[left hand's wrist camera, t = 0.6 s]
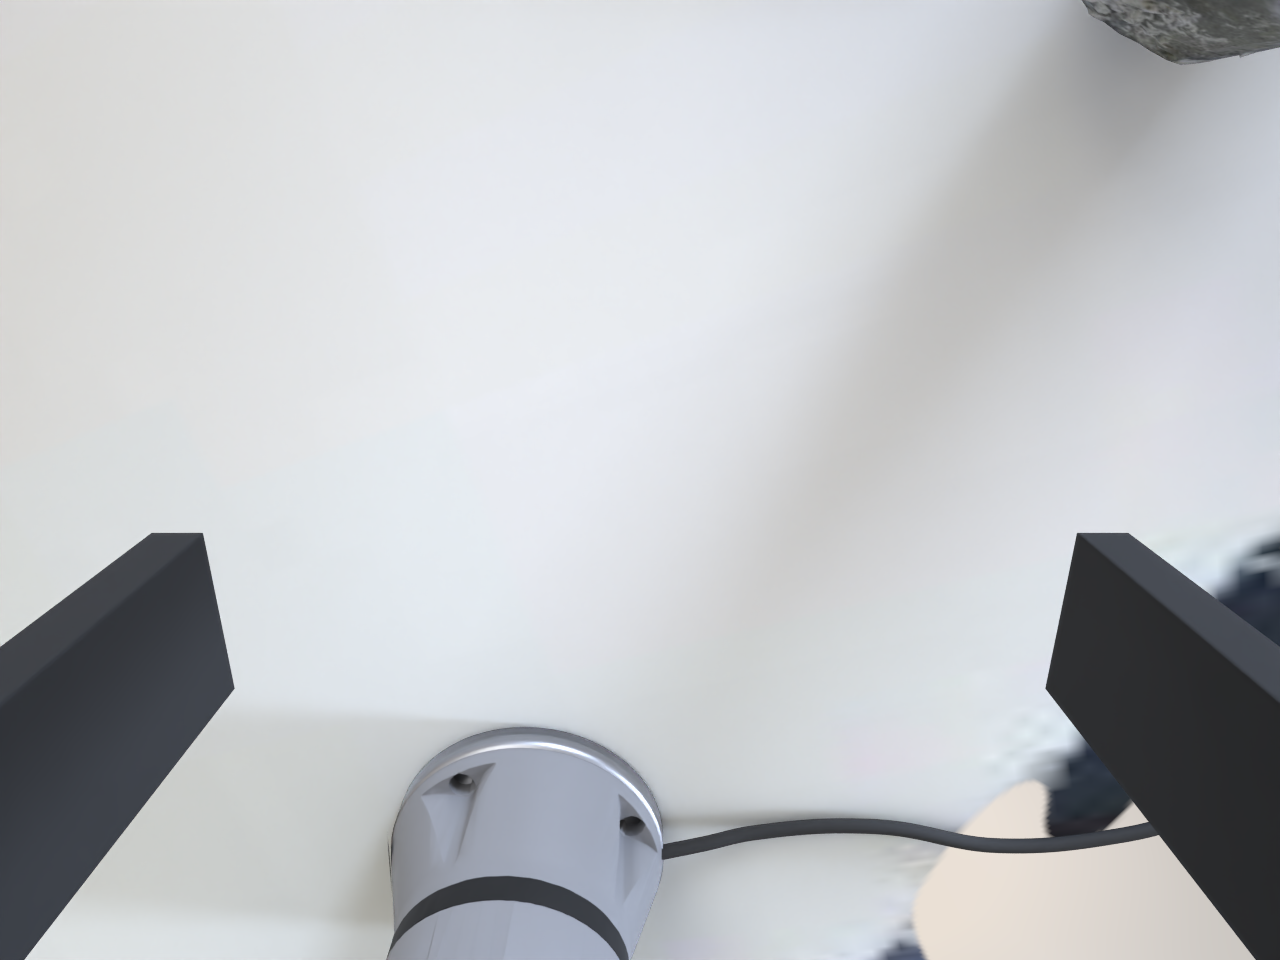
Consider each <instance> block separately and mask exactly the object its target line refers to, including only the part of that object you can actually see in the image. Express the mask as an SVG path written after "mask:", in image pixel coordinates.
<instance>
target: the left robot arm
mask: <svg viewBox="0 0 1280 960" xmlns="http://www.w3.org/2000/svg"><path fill="white" fill-rule="evenodd" d="M234 689H235V688H234V684H233V679H232V674H231V669H230V664H229V659H228V654H227V649H226V644H225V639H224V635H223V630H222V625H221V620H220V615H219V610H218V605H217V600H216V595H215V590H214V585H213V581H212V576H211V571H210V566H209V561H208V556H207V551H206V546H205V541H204V536H203V533H151V534H150V535H149V536H147V537H146V538H145V539H143V540H142V541H141V542H139V543H138V544H137V545H135V546H134V547H133V548H131V549H130V550H129V551H127V552H126V553H125V554H123V555H122V556H121V557H119V558H118V559H117V560H115V561H114V562H113V563H111V564H110V565H109V566H107V567H106V568H105V569H103V570H102V571H101V572H99V573H98V574H97V575H95V576H94V577H93V578H91V579H90V580H89V581H87V582H86V583H85V584H83V585H82V586H81V587H79V588H78V589H77V590H75V591H74V592H73V593H71V594H70V595H69V596H67V597H66V598H65V599H63V600H62V601H61V602H59V603H58V604H57V605H55V606H54V607H53V608H52V609H50V610H49V611H48V612H46V613H45V614H44V615H42V616H41V617H40V618H38V619H37V620H36V621H34V622H33V623H32V624H30V625H29V626H28V627H26V628H25V629H24V630H22V631H21V632H20V633H18V634H17V635H16V636H14V637H13V638H12V639H10V640H9V641H8V642H6V643H5V644H4V645H2V646H1V647H0V960H24V959H25V958H26V957H27V955H28V954H29V953H30V952H31V950H32V949H33V948H34V946H35V945H36V944H37V943H38V941H39V940H40V939H41V937H42V936H43V935H44V934H45V932H46V931H47V930H48V928H49V927H50V926H51V925H52V923H53V922H54V921H55V919H56V918H57V917H58V915H59V914H60V913H61V912H62V910H63V909H64V908H65V906H66V905H67V904H68V903H69V901H70V900H71V899H72V897H73V896H74V895H75V894H76V892H77V891H78V890H79V888H80V887H81V886H82V885H83V883H84V882H85V881H86V879H87V878H88V877H89V876H90V874H91V873H92V872H93V870H94V869H95V868H96V866H97V865H98V864H99V863H100V861H101V860H102V859H103V857H104V856H105V855H106V854H107V852H108V851H109V850H110V848H111V847H112V846H113V845H114V843H115V842H116V841H117V839H118V838H119V837H120V836H121V834H122V833H123V832H124V830H125V829H126V828H127V827H128V825H129V824H130V823H131V821H132V820H133V819H134V817H135V816H136V815H137V814H138V812H139V811H140V810H141V808H142V807H143V806H144V805H145V803H146V802H147V801H148V799H149V798H150V797H151V796H152V794H153V793H154V792H155V790H156V789H157V788H158V787H159V785H160V784H161V783H162V781H163V780H164V779H165V778H166V776H167V775H168V774H169V772H170V771H171V770H172V769H173V767H174V766H175V765H176V763H177V762H178V761H179V759H180V758H181V757H182V756H183V754H184V753H185V752H186V750H187V749H188V748H189V747H190V745H191V744H192V743H193V741H194V740H195V739H196V738H197V736H198V735H199V734H200V732H201V731H202V730H203V729H204V727H205V726H206V725H207V723H208V722H209V721H210V720H211V718H212V717H213V716H214V714H215V713H216V712H217V710H218V709H219V708H220V707H221V705H222V704H223V703H224V701H225V700H226V699H227V698H228V696H229V695H230V694H231V692H232V691H233V690H234ZM1045 689H1046V690H1047V691H1048V692H1049V694H1050V695H1051V696H1052V698H1053V699H1054V700H1055V701H1056V703H1057V704H1058V705H1059V707H1060V708H1061V709H1062V710H1063V712H1064V713H1065V714H1066V716H1067V717H1068V718H1069V720H1070V721H1071V722H1072V723H1073V725H1074V726H1075V727H1076V729H1077V730H1078V731H1079V732H1080V734H1081V735H1082V736H1083V738H1084V739H1085V740H1086V741H1087V743H1088V744H1089V745H1090V747H1091V748H1092V749H1093V750H1094V752H1095V753H1096V754H1097V756H1098V757H1099V758H1100V759H1101V761H1102V762H1103V763H1104V765H1105V766H1106V767H1107V769H1108V770H1109V771H1110V772H1111V774H1112V775H1113V776H1114V778H1115V779H1116V780H1117V781H1118V783H1119V784H1120V785H1121V787H1122V788H1123V789H1124V790H1125V792H1126V793H1127V794H1128V796H1129V797H1130V798H1131V799H1132V801H1133V802H1134V803H1135V805H1136V806H1137V807H1138V808H1139V810H1140V811H1141V812H1142V814H1143V815H1144V816H1145V818H1146V819H1147V820H1148V821H1149V823H1150V824H1151V825H1152V827H1153V828H1154V829H1155V830H1156V832H1157V833H1158V834H1159V836H1160V837H1161V838H1162V839H1163V841H1164V842H1165V843H1166V845H1167V846H1168V847H1169V848H1170V850H1171V851H1172V852H1173V854H1174V855H1175V856H1176V857H1177V859H1178V860H1179V861H1180V863H1181V864H1182V865H1183V866H1184V868H1185V869H1186V870H1187V872H1188V873H1189V874H1190V875H1191V877H1192V878H1193V879H1194V881H1195V882H1196V883H1197V885H1198V886H1199V887H1200V888H1201V890H1202V891H1203V892H1204V894H1205V895H1206V896H1207V897H1208V899H1209V900H1210V901H1211V902H1212V904H1213V905H1214V906H1215V908H1216V909H1217V910H1218V912H1219V913H1220V914H1221V915H1222V917H1223V918H1224V919H1225V921H1226V922H1227V923H1228V924H1229V926H1230V927H1231V928H1232V930H1233V931H1234V932H1235V934H1236V935H1237V936H1238V937H1239V939H1240V940H1241V941H1242V942H1243V944H1244V945H1245V946H1246V948H1247V949H1248V950H1249V952H1250V953H1251V954H1252V955H1253V957H1254V958H1255V959H1256V960H1280V647H1279V646H1278V645H1276V644H1275V643H1274V642H1272V641H1271V640H1270V639H1268V638H1267V637H1266V636H1264V635H1263V634H1262V633H1260V632H1259V631H1258V630H1256V629H1255V628H1254V627H1252V626H1251V625H1250V624H1248V623H1247V622H1246V621H1244V620H1243V619H1242V618H1240V617H1239V616H1238V615H1236V614H1235V613H1234V612H1232V611H1231V610H1230V609H1228V608H1227V607H1226V606H1225V605H1223V604H1222V603H1221V602H1219V601H1218V600H1217V599H1215V598H1214V597H1213V596H1211V595H1210V594H1209V593H1207V592H1206V591H1205V590H1203V589H1202V588H1201V587H1199V586H1198V585H1197V584H1195V583H1194V582H1193V581H1191V580H1190V579H1189V578H1187V577H1186V576H1185V575H1183V574H1182V573H1181V572H1179V571H1178V570H1177V569H1175V568H1174V567H1173V566H1171V565H1170V564H1169V563H1167V562H1166V561H1165V560H1163V559H1162V558H1161V557H1159V556H1158V555H1157V554H1155V553H1154V552H1153V551H1151V550H1150V549H1149V548H1147V547H1146V546H1145V545H1143V544H1142V543H1141V542H1139V541H1138V540H1137V539H1135V538H1134V537H1133V536H1131V535H1130V534H1129V533H1077V536H1076V541H1075V546H1074V551H1073V556H1072V561H1071V566H1070V571H1069V576H1068V581H1067V585H1066V590H1065V595H1064V600H1063V605H1062V610H1061V615H1060V620H1059V625H1058V630H1057V635H1056V639H1055V644H1054V649H1053V654H1052V659H1051V664H1050V669H1049V674H1048V679H1047V684H1046V688H1045Z"/></svg>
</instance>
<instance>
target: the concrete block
mask: <svg viewBox="0 0 1280 960" xmlns="http://www.w3.org/2000/svg"><path fill="white" fill-rule="evenodd" d="M1082 1H1083V3H1084V4H1085V6H1086V7H1087V8H1088V12H1089V14H1090V15H1091V16H1093V17H1095V18H1097V19H1099V20H1101V21H1103V22H1105V23H1106V24H1107V25H1109V26H1110V27H1112V28H1113V29H1114V30H1116V31H1117V32H1118V33H1120V34H1121V35H1123V36H1125V37H1128V38H1130V39H1132V40H1134V41H1136V42H1138V43H1140V44H1141V45H1143V46H1144V47H1145V48H1147V49H1148V50H1150V51H1152V52H1154V53H1155V54H1157V55H1159V56H1161V57H1163V58H1164V59H1166V60H1169V61H1171V62H1174V63H1177V64H1180V65H1184V64H1194V63H1202V62H1209V61H1213V60H1217V59H1221V58H1226V57H1231V56H1236V55H1240V57H1243V56H1246V55H1249V54H1252V53H1255V52H1260V51H1264V50H1269V49H1274V48H1278V47H1280V0H1082Z"/></svg>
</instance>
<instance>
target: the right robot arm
mask: <svg viewBox="0 0 1280 960" xmlns="http://www.w3.org/2000/svg"><path fill="white" fill-rule="evenodd" d="M387 833H388V832H387ZM825 833H861V834H882V835H893V836H901V837H908V838H913V839H918V840H923V841H927V842H932V843H936V844H941V845H945V846H949V847H954V848H960V849H965V850H971V851H979V852H989V853H1046V852H1059V851H1069V850H1078V849H1085V848H1092V847H1099V846H1105V845H1111V844H1118V843H1124V842H1129V841H1134V840H1140V839H1144V838H1149V837H1152V836H1157V835H1159V834H1158V833H1157V832H1156V830H1155V829H1154V828H1153V827H1152V825H1151V824H1150V823H1149V822H1147V823H1142V824H1138V825H1134V826H1129V827H1123V828H1117V829H1111V830H1105V831H1099V832H1092V833H1086V834H1078V835H1071V836H1062V837H1051V838H1033V839H1000V838H984V837H975V836H968V835H963V834H958V833H953V832H948V831H944V830H940V829H935V828H931V827H927V826H922V825H917V824H912V823H906V822H899V821H891V820H878V819H811V820H798V821H787V822H778V823H769V824H761V825H754V826H747V827H741V828H736V829H732V830H727V831H724V832H720V833H716V834H712V835H707V836H703V837H698V838H693V839H688V840H683V841H678V842H673V843H668V844H663V830H662V822H661V817H660V813H659V810H658V807H657V804H656V802H655V800H654V797H653V795H652V794H651V792H650V790H649V788H648V787H647V785H646V784H645V783H644V781H643V780H642V779H641V777H640V776H639V775H638V774H637V773H636V772H635V771H634V770H633V769H632V768H631V767H630V766H629V765H628V764H627V763H626V762H625V761H623V760H622V759H621V758H619V757H618V756H617V755H615V754H614V753H612V752H611V751H609V750H607V749H606V748H604V747H602V746H600V745H598V744H596V743H594V742H592V741H590V740H587V739H585V738H582V737H580V736H577V735H573V734H570V733H567V732H562V731H557V730H552V729H544V728H531V727H519V728H506V729H498V730H493V731H488V732H484V733H481V734H477V735H474V736H471V737H469V738H466V739H464V740H461V741H459V742H457V743H455V744H453V745H452V746H450V747H448V748H447V749H445V750H443V751H442V752H440V753H439V754H438V755H436V756H435V757H434V758H433V759H431V760H430V761H429V762H428V763H427V764H426V765H425V766H424V767H423V768H422V769H421V771H420V772H419V773H418V774H417V776H416V777H415V778H414V780H413V782H412V783H411V785H410V786H409V788H408V791H407V793H406V795H405V797H404V800H403V803H402V805H401V808H400V810H399V813H398V816H397V819H396V822H395V825H394V828H393V834H392V842H391V866H392V883H391V888H392V887H393V909H394V930H395V933H394V937H393V940H392V944H391V947H390V950H389V953H388V956H387V959H386V960H631V958H632V955H633V953H634V950H635V948H636V945H637V942H638V940H639V937H640V934H641V932H642V929H643V927H644V924H645V921H646V919H647V916H648V913H649V911H650V908H651V905H652V903H653V900H654V898H655V895H656V892H657V889H658V886H659V883H660V880H661V875H662V870H663V860H664V859H669V858H674V857H679V856H684V855H689V854H694V853H699V852H704V851H708V850H713V849H717V848H721V847H724V846H728V845H732V844H736V843H741V842H746V841H752V840H760V839H768V838H776V837H785V836H795V835H807V834H825ZM388 852H389V844H388ZM389 864H390V856H389ZM390 876H391V868H390Z"/></svg>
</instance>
